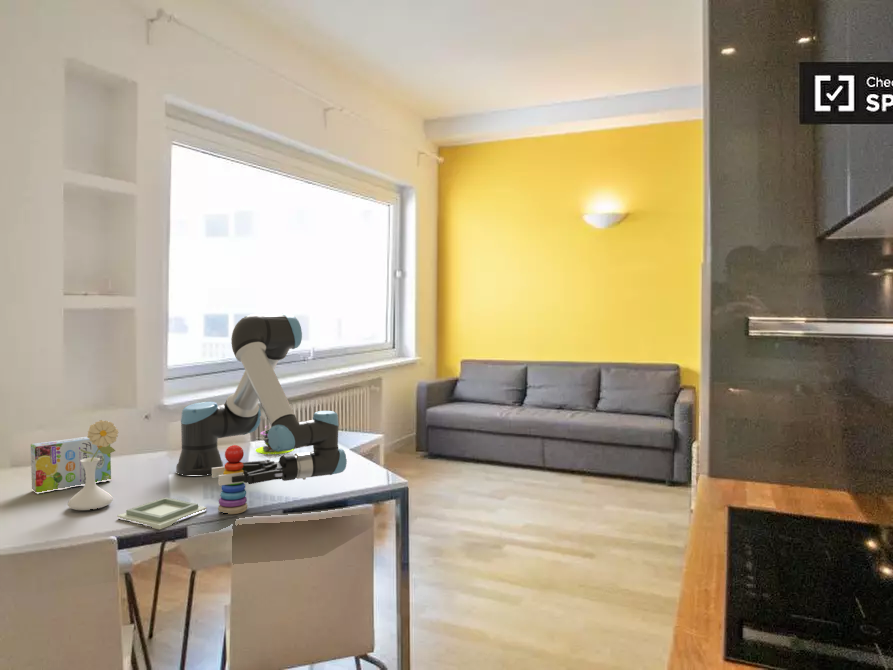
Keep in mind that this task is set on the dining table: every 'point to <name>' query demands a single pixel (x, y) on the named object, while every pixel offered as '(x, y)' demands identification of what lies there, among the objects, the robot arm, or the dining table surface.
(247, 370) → the robot arm
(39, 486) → the snack box
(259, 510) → the dining table surface
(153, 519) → the base plate
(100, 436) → the flower in vase
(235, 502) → the stacking toy
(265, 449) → the toy cauldron
